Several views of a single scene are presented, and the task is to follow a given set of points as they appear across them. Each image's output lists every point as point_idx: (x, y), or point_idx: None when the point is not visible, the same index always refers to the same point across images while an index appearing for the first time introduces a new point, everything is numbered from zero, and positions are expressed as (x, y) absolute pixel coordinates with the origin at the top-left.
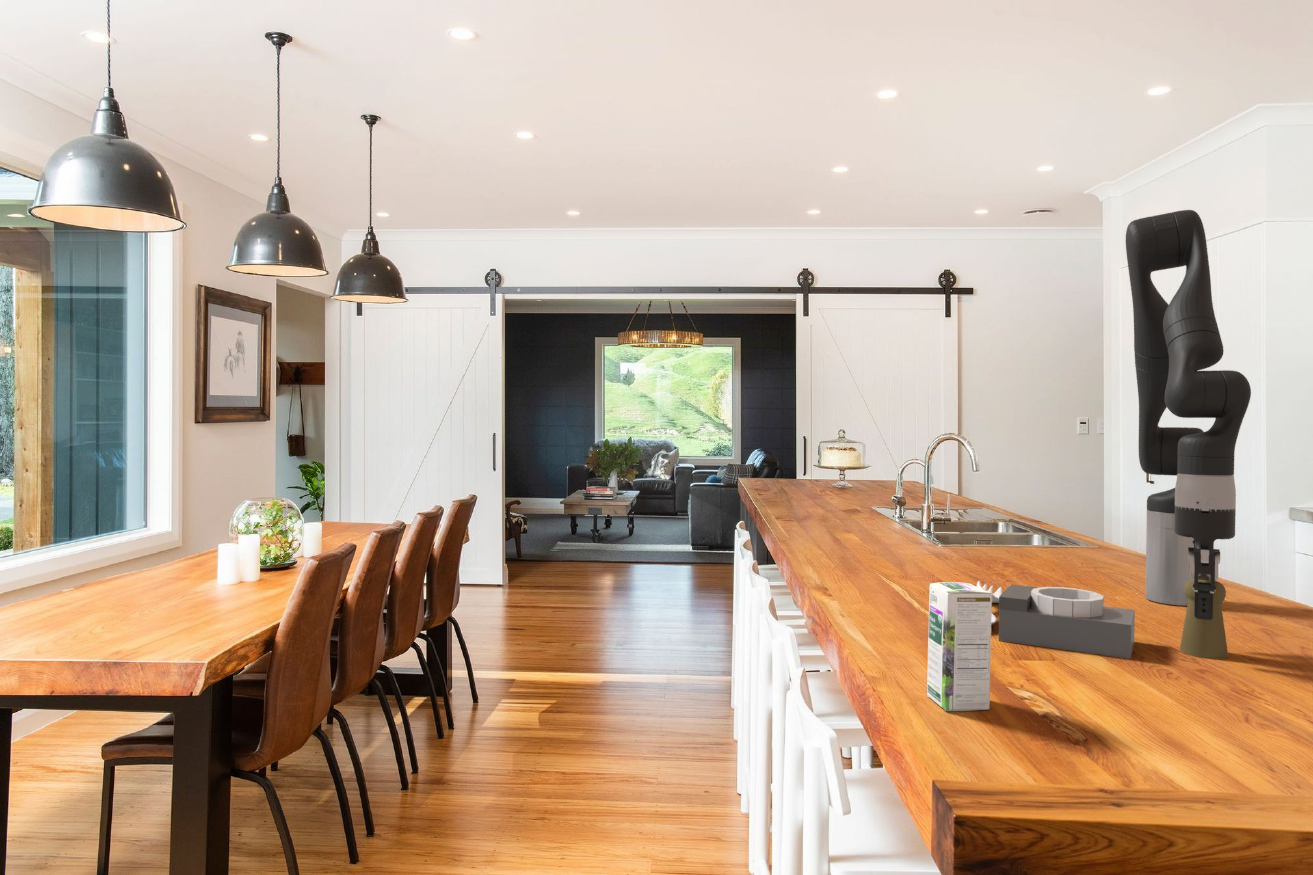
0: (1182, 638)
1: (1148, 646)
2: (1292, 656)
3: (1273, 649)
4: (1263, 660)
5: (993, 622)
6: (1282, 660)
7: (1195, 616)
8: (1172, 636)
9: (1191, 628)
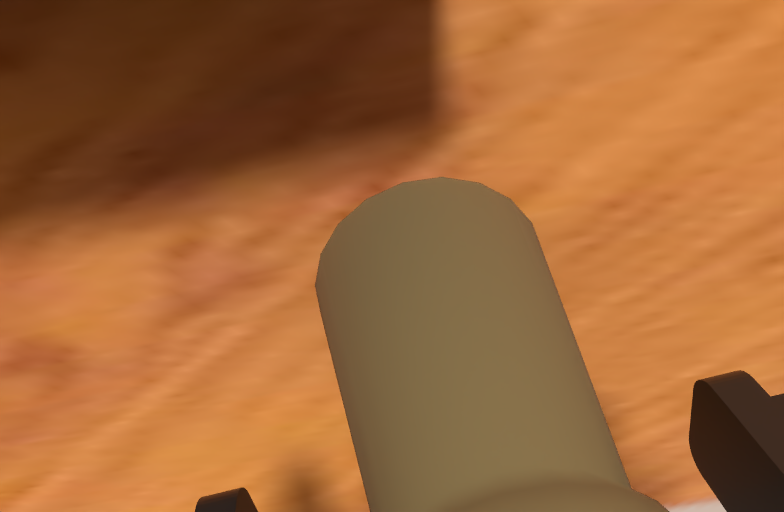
0: (401, 236)
1: (355, 7)
2: None
3: None
4: None
5: None
6: None
7: (203, 503)
8: (757, 58)
9: (356, 348)
